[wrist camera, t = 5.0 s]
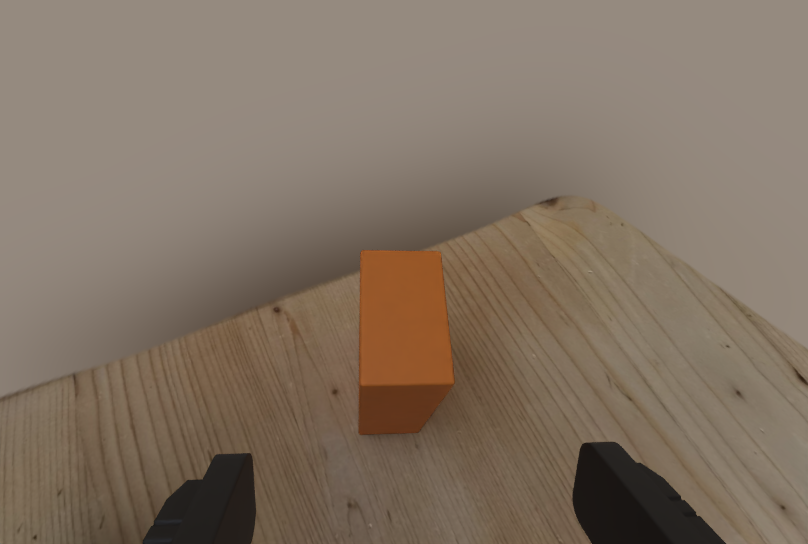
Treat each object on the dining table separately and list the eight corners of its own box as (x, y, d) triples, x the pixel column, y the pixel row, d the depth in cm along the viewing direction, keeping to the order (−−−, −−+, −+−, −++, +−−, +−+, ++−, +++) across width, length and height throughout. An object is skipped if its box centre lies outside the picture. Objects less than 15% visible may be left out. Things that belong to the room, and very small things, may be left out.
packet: (358, 434, 20) (359, 386, 13) (359, 338, 23) (360, 249, 15) (418, 432, 21) (455, 384, 13) (413, 338, 23) (441, 250, 15)
